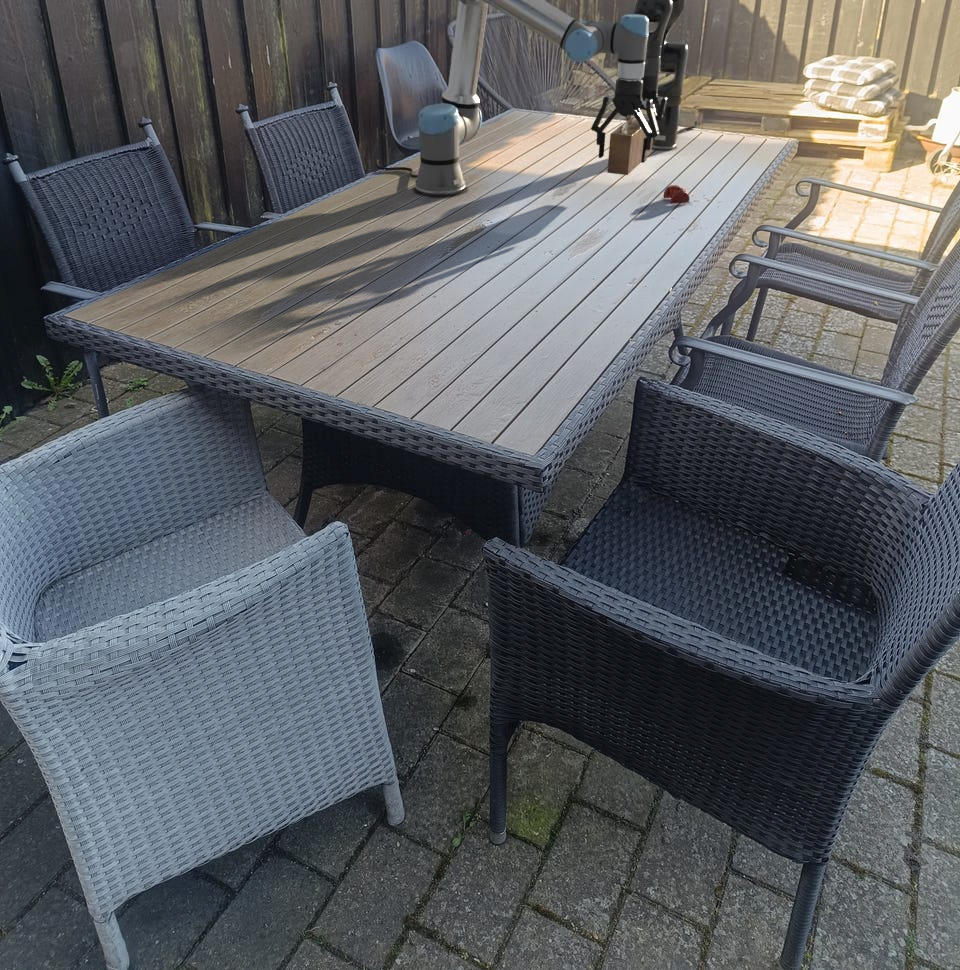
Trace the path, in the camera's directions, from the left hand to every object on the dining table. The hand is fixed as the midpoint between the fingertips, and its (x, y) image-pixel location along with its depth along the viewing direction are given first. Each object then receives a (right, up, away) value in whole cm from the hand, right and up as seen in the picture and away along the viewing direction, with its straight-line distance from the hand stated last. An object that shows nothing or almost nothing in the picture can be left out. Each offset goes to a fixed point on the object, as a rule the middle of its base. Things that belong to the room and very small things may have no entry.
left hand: (622, 159), depth 246 cm
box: (+4, +3, +9) cm, 10 cm away
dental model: (+16, -11, +4) cm, 20 cm away
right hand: (+8, +13, +12) cm, 19 cm away
